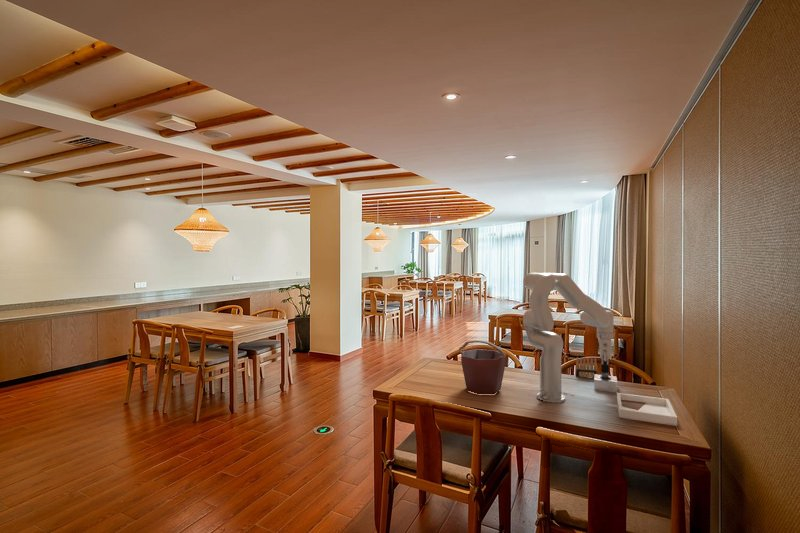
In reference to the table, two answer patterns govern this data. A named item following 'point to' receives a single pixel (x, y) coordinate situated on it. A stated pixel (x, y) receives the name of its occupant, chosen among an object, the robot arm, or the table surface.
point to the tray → (648, 409)
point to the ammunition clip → (586, 368)
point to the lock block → (605, 383)
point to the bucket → (483, 368)
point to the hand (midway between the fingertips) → (604, 371)
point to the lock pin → (605, 374)
